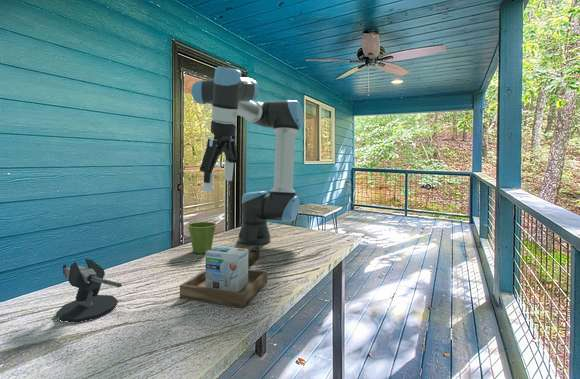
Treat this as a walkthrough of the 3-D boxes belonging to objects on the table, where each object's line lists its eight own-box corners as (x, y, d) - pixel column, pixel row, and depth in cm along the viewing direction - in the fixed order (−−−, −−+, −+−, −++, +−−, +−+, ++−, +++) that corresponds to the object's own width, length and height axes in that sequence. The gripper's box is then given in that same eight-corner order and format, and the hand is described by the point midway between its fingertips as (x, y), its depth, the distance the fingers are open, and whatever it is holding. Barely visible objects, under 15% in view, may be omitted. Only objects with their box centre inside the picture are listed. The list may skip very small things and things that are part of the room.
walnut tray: (212, 275, 97) (212, 264, 96) (267, 282, 91) (267, 271, 91) (179, 297, 80) (179, 285, 80) (244, 308, 75) (244, 295, 75)
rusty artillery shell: (244, 274, 98) (244, 261, 98) (233, 272, 99) (233, 259, 99) (265, 257, 116) (265, 245, 116) (255, 256, 117) (255, 244, 117)
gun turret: (99, 335, 63) (96, 277, 61) (42, 315, 70) (38, 263, 69) (148, 308, 74) (146, 258, 73) (94, 294, 82) (92, 248, 81)
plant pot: (222, 251, 122) (222, 224, 121) (195, 257, 114) (195, 228, 112) (208, 245, 130) (207, 220, 129) (182, 250, 122) (181, 223, 121)
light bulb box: (204, 288, 84) (204, 251, 83) (217, 279, 91) (216, 245, 90) (238, 293, 81) (238, 255, 80) (249, 283, 88) (249, 248, 87)
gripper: (214, 128, 78) (208, 200, 86) (251, 120, 101) (244, 178, 109) (189, 122, 80) (186, 194, 87) (231, 116, 103) (226, 173, 110)
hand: (218, 185), depth 98 cm, fingers open, 13 cm apart
